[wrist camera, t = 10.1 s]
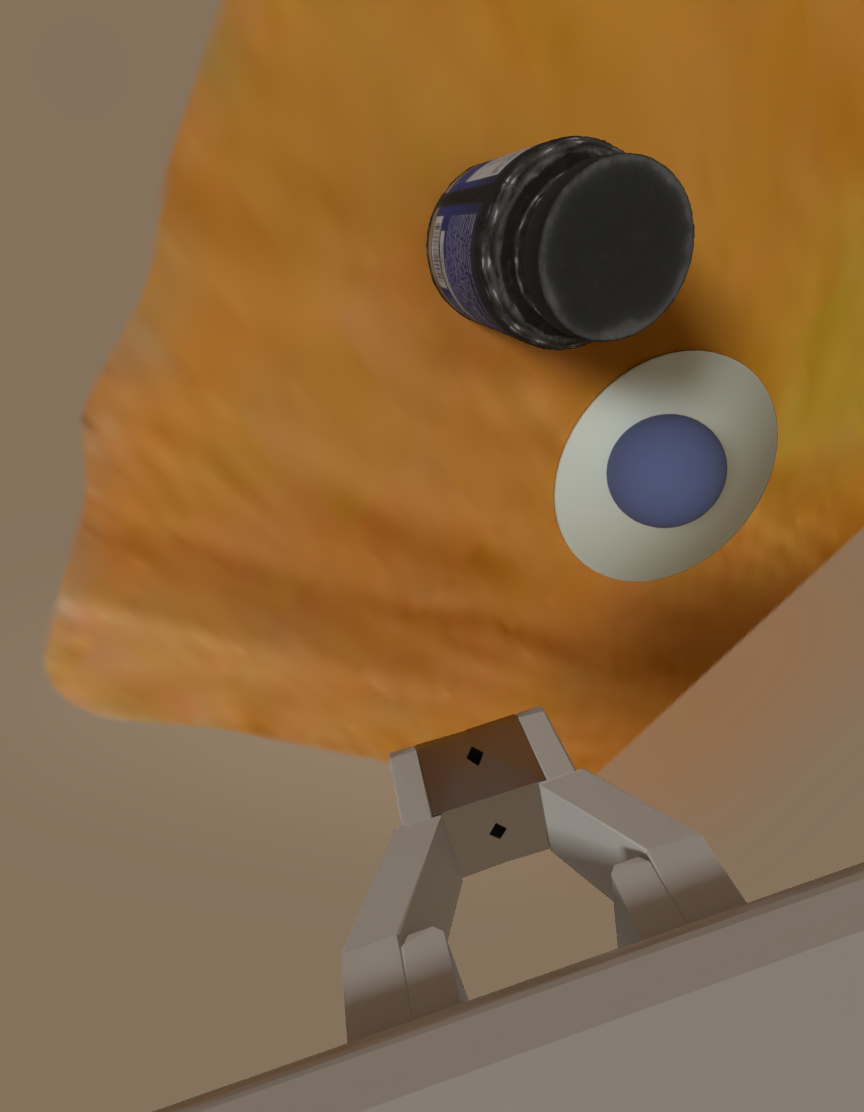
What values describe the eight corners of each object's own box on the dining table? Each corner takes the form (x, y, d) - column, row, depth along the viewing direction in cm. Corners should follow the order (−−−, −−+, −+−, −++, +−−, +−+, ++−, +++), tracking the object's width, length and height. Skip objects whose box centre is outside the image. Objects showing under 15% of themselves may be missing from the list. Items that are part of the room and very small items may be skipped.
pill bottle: (514, 345, 29) (636, 404, 19) (397, 279, 26) (470, 309, 17) (586, 210, 27) (761, 202, 17) (467, 126, 24) (594, 61, 15)
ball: (722, 415, 26) (604, 484, 28) (765, 509, 29) (654, 568, 30) (674, 376, 31) (575, 438, 32) (715, 460, 33) (621, 514, 35)
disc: (785, 322, 31) (788, 323, 31) (765, 545, 38) (767, 546, 37) (541, 386, 30) (543, 387, 30) (564, 605, 36) (565, 607, 36)
